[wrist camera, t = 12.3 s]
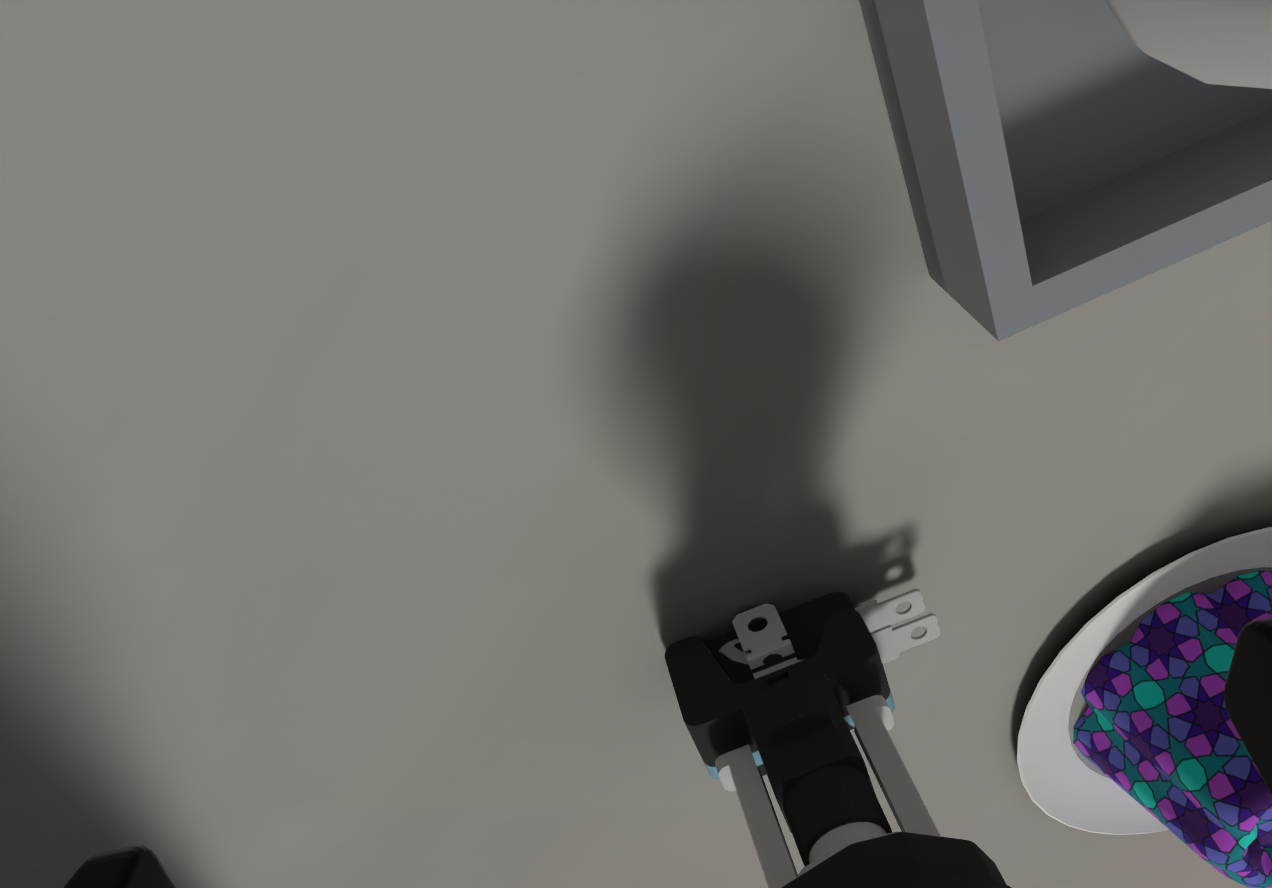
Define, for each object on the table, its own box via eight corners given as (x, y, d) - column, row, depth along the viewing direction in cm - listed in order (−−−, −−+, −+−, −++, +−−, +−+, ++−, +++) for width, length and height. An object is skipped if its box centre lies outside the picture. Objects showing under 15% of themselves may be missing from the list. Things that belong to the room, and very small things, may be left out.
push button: (892, 508, 25) (1139, 876, 17) (931, 657, 28) (1156, 1031, 20) (629, 613, 25) (742, 1028, 17) (696, 749, 28) (820, 1159, 20)
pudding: (1014, 859, 34) (1104, 1018, 30) (991, 592, 27) (1103, 746, 23) (1365, 742, 34) (1505, 883, 30) (1426, 448, 28) (1618, 575, 23)
